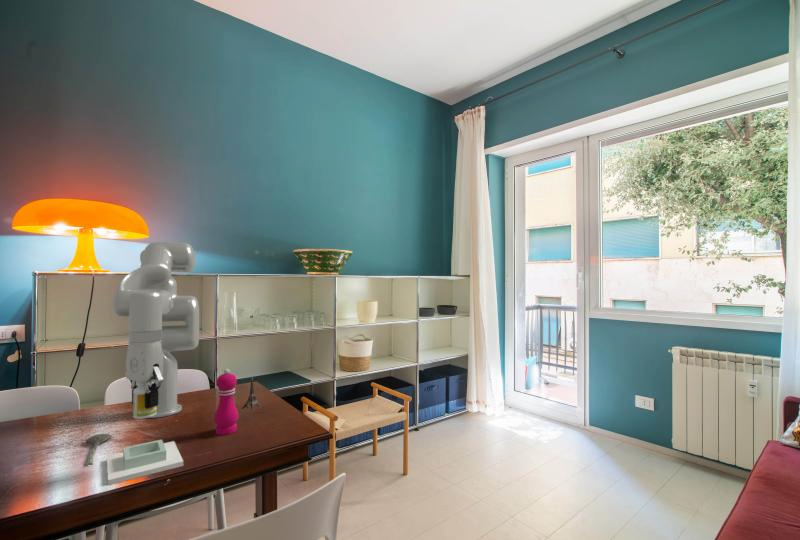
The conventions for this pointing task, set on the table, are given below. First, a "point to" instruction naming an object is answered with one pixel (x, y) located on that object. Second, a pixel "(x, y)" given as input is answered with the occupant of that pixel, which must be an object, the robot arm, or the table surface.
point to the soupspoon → (96, 444)
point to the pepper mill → (226, 404)
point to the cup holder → (142, 460)
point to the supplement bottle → (141, 402)
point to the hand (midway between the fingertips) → (145, 404)
